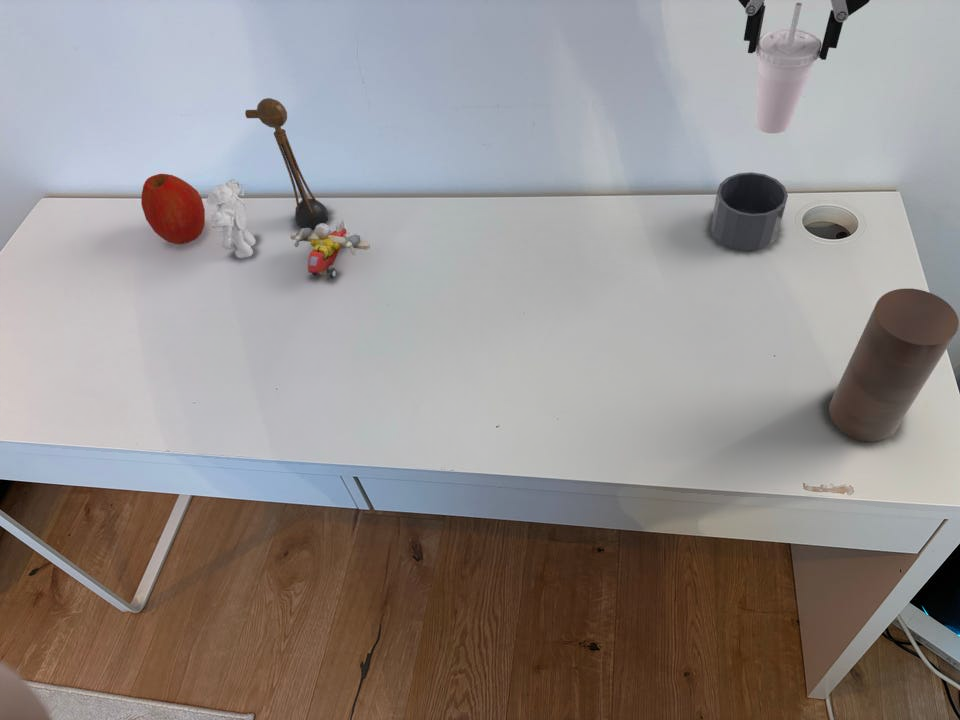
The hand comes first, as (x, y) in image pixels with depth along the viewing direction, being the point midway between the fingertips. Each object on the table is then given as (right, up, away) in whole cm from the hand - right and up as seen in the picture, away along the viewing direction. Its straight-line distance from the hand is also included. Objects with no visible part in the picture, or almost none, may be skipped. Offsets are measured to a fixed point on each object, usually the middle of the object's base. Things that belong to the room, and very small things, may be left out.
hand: (788, 48), depth 77 cm
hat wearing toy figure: (-66, -17, +29) cm, 75 cm away
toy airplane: (-53, -18, +26) cm, 62 cm away
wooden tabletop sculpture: (-58, -12, +32) cm, 67 cm away
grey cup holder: (+3, -15, +20) cm, 26 cm away
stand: (+9, -39, +1) cm, 40 cm away
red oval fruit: (-76, -14, +33) cm, 84 cm away
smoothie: (+1, -6, +7) cm, 9 cm away
